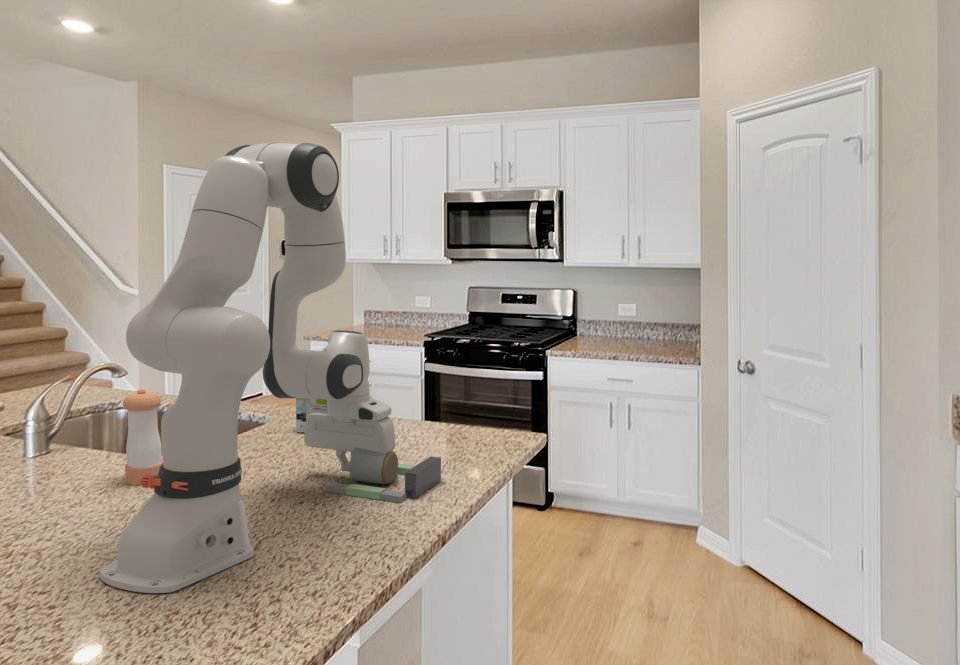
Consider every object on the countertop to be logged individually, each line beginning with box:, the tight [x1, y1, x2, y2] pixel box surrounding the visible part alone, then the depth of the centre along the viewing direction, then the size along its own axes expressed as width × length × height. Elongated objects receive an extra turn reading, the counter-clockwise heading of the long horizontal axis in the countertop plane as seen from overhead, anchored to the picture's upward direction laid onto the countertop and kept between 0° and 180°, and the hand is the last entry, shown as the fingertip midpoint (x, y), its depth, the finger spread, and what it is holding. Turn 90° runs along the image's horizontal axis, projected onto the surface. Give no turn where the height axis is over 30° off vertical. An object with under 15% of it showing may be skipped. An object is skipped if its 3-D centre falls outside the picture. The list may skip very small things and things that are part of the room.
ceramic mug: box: [349, 448, 399, 485], centre depth 147 cm, size 11×8×8 cm
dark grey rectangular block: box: [404, 456, 442, 499], centre depth 142 cm, size 12×2×5 cm, turn 159°
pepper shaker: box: [122, 388, 163, 486], centre depth 145 cm, size 7×7×19 cm
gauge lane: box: [323, 463, 416, 504], centre depth 145 cm, size 19×17×2 cm
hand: (349, 470), depth 148 cm, fingers closed
